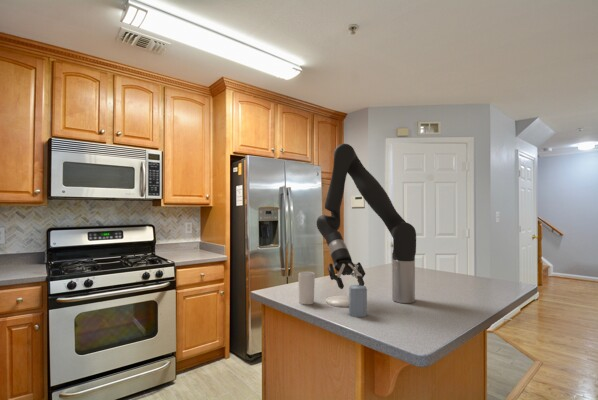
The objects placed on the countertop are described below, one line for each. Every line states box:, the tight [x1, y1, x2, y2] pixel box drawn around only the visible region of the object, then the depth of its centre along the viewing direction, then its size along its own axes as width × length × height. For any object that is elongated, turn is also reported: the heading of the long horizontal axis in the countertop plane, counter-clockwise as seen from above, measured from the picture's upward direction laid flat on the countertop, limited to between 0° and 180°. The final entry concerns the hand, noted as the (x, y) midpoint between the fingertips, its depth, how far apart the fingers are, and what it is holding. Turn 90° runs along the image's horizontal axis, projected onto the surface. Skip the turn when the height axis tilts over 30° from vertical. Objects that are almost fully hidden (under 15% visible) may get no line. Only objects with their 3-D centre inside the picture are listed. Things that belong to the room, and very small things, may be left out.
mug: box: [297, 271, 316, 306], centre depth 136 cm, size 10×7×12 cm, turn 10°
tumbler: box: [348, 284, 368, 318], centre depth 120 cm, size 6×6×10 cm
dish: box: [325, 295, 349, 308], centre depth 135 cm, size 13×13×1 cm
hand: (352, 287), depth 123 cm, fingers open, 8 cm apart
